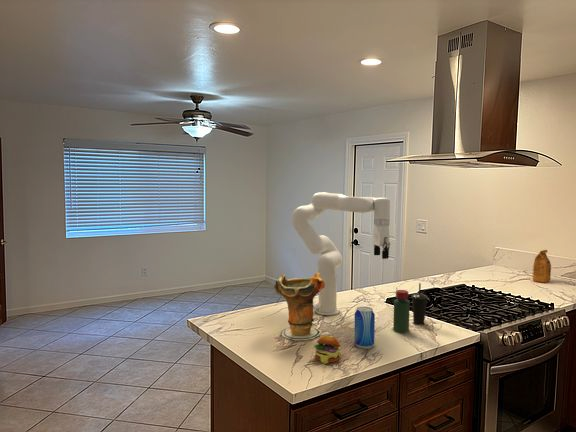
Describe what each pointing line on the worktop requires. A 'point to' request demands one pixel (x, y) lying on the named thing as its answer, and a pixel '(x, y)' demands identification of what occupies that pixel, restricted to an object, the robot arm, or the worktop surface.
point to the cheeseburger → (327, 349)
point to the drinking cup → (419, 307)
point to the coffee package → (542, 267)
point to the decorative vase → (300, 305)
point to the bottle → (401, 315)
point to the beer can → (364, 327)
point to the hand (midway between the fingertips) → (381, 256)
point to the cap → (402, 294)
